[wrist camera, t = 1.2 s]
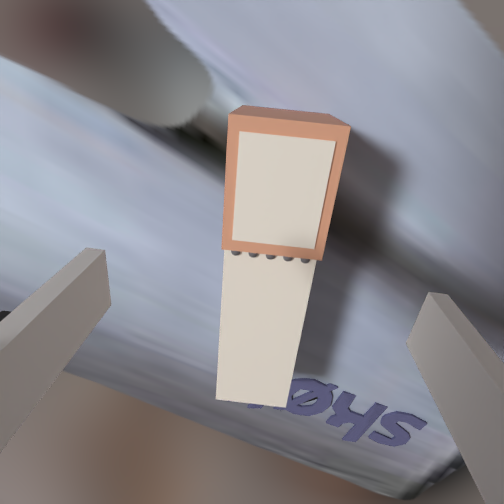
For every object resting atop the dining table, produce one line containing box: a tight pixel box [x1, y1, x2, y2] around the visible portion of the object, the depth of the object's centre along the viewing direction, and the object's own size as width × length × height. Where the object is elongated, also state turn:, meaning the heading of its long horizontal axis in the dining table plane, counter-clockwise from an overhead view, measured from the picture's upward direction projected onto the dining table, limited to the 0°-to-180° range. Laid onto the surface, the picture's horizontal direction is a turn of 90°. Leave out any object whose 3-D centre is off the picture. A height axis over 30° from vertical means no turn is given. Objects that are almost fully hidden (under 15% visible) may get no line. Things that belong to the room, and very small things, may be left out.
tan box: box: [222, 105, 351, 261], centre depth 28 cm, size 10×8×10 cm
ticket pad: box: [216, 250, 317, 408], centre depth 36 cm, size 20×8×8 cm, turn 175°
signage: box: [233, 378, 427, 447], centre depth 48 cm, size 28×1×10 cm
